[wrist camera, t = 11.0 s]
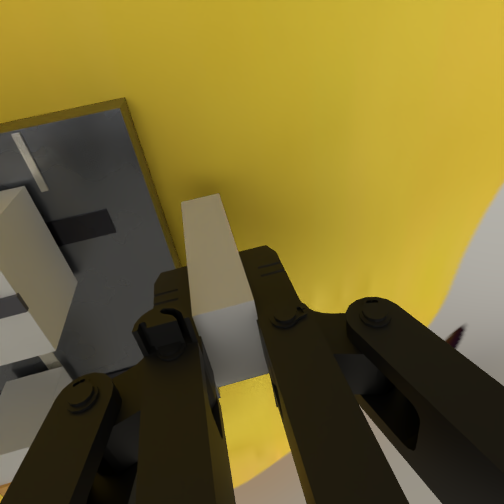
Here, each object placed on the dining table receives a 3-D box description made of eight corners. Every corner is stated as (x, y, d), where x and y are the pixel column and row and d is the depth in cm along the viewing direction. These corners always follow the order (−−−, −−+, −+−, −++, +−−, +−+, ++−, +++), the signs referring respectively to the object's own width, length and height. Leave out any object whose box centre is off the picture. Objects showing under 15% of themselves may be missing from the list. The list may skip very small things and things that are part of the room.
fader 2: (48, 432, 22) (26, 515, 19) (5, 382, 20) (-32, 467, 16) (99, 417, 23) (87, 496, 19) (63, 366, 20) (40, 446, 16)
